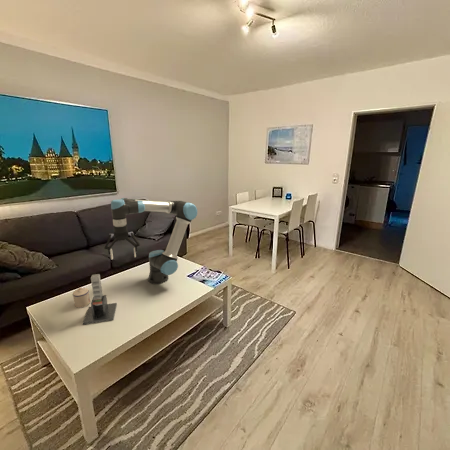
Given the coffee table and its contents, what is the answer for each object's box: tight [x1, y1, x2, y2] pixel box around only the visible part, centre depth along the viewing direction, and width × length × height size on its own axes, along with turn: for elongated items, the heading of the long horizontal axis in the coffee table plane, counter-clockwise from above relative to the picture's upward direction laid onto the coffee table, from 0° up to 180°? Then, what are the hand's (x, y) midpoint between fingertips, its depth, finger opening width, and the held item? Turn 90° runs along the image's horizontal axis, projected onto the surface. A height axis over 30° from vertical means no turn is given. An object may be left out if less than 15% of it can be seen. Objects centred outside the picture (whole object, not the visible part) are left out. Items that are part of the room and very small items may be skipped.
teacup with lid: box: [72, 286, 91, 309], centre depth 159 cm, size 12×9×12 cm
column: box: [90, 273, 103, 306], centre depth 145 cm, size 5×4×18 cm
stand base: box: [82, 294, 118, 326], centre depth 149 cm, size 16×16×10 cm
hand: (123, 257), depth 156 cm, fingers open, 13 cm apart
